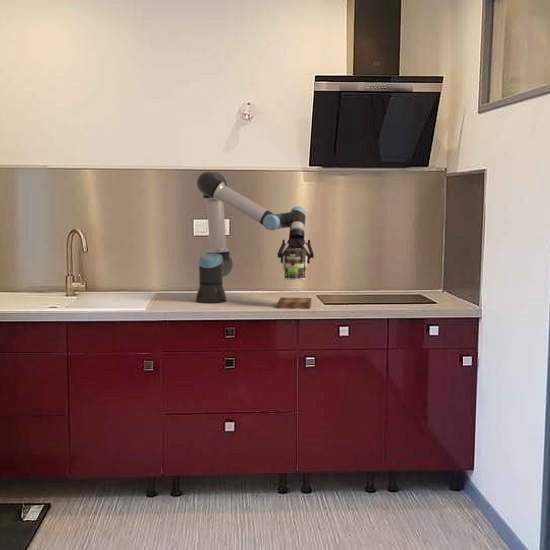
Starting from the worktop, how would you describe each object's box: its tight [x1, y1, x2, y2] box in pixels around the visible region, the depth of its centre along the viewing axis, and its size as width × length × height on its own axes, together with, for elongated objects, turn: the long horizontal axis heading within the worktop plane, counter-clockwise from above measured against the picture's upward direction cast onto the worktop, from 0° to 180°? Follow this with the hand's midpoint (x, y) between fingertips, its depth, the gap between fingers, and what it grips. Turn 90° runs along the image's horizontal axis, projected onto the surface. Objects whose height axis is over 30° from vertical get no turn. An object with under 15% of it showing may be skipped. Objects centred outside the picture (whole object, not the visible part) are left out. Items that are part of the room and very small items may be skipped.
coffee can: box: [284, 248, 307, 281], centre depth 344 cm, size 10×10×14 cm
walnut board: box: [277, 296, 312, 310], centre depth 346 cm, size 15×15×3 cm
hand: (294, 268), depth 341 cm, fingers closed on coffee can, 10 cm apart
